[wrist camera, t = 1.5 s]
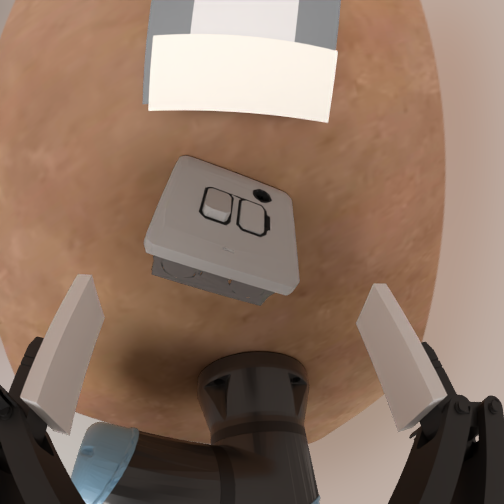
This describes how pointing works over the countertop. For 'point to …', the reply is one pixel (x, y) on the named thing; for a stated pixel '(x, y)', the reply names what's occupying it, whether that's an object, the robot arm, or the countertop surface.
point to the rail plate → (242, 56)
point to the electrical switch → (223, 233)
